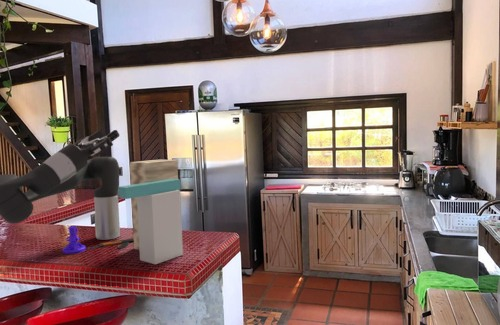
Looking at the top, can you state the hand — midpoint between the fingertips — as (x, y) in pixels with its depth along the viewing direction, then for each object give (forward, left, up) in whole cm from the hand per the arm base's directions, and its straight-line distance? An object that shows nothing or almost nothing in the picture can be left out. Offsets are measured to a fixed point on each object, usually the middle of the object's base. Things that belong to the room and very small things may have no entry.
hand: (109, 132), depth 119 cm
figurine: (-34, +5, -43) cm, 55 cm away
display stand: (-12, +25, -43) cm, 51 cm away
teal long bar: (0, +14, -20) cm, 25 cm away
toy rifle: (-24, +19, -44) cm, 54 cm away
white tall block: (0, +17, -43) cm, 46 cm away
